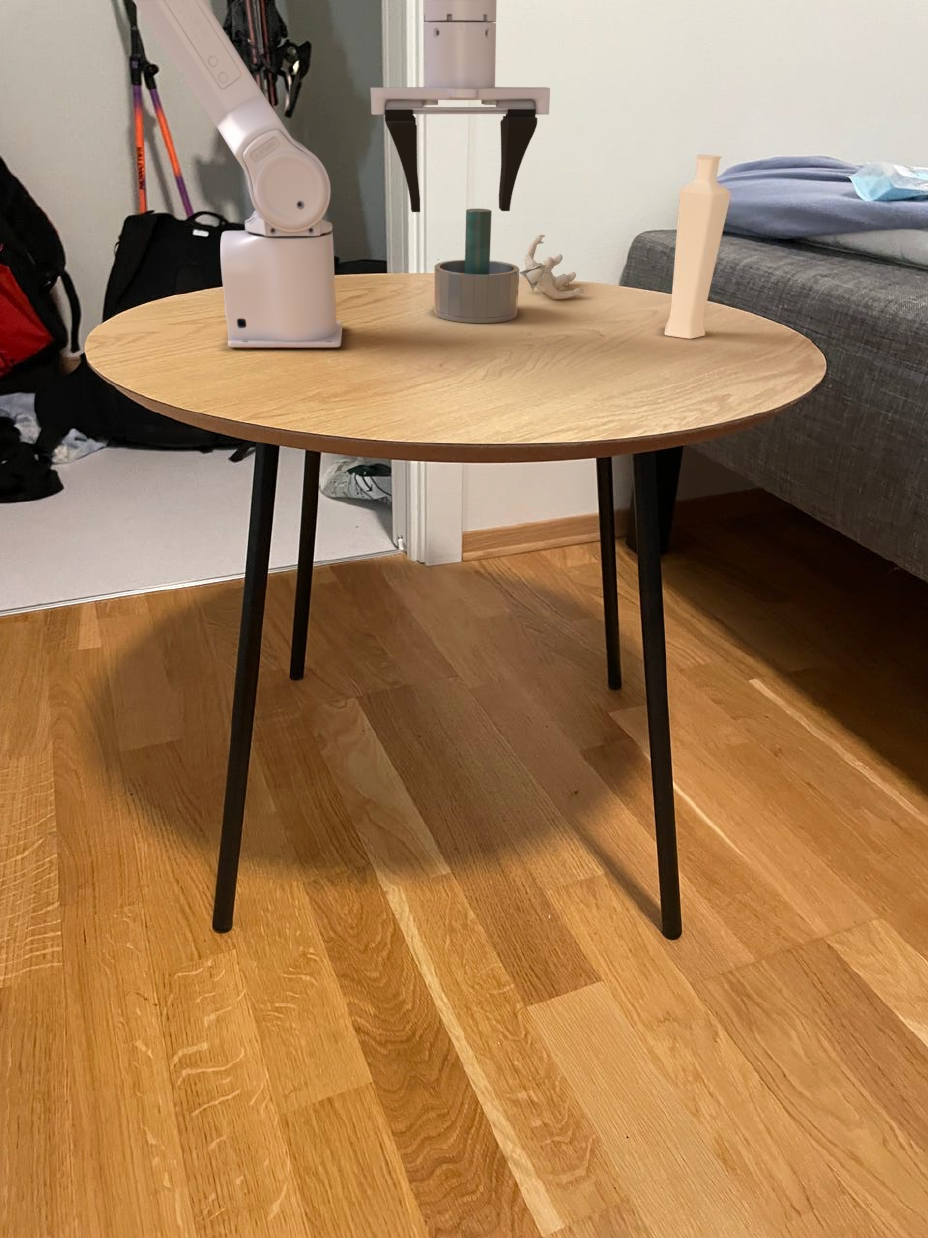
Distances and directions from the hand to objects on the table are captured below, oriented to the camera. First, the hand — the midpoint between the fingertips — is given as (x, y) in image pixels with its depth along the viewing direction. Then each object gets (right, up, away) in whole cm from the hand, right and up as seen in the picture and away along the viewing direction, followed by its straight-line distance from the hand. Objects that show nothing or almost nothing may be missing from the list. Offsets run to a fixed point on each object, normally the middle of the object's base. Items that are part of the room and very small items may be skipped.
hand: (460, 210), depth 80 cm
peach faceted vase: (+21, -9, +7) cm, 24 cm away
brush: (+2, -4, +12) cm, 13 cm away
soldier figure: (+10, 0, +22) cm, 24 cm away
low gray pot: (+2, -5, +12) cm, 13 cm away
